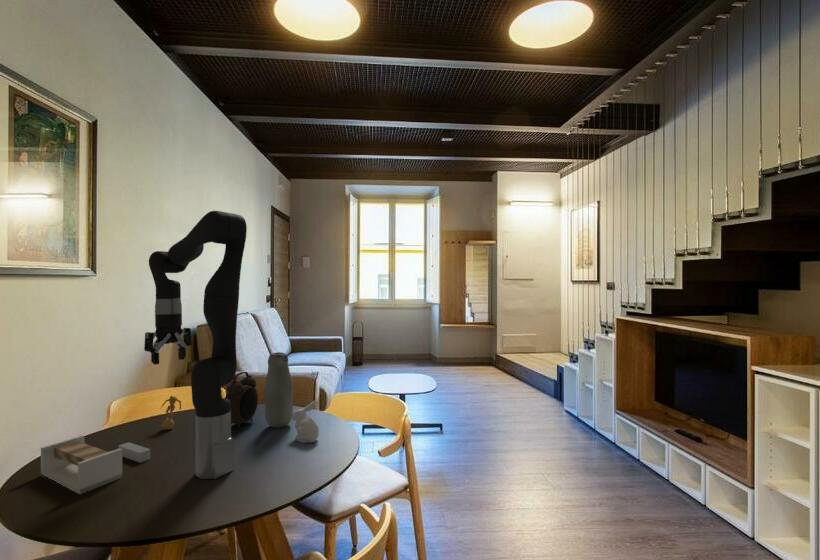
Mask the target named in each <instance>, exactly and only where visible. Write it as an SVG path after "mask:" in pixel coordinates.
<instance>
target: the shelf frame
mask: <svg viewBox="0 0 820 560" xmlns="http://www.w3.org/2000/svg"><path fill="white" fill-rule="evenodd" d="M75 441H79V442H82V443H85V435H83V434H82V435H79V436H77V437H76V436H75V437H72V438H69V439H65V440H62V441H59V442H55V443H52V444H48V445H45V446H42V447H40V475H41V474H42V475H44V476H46V477H48V478H49V479H52V480H54V481H56V482H57V483H59V484H61V485H60V486H62V485H63V486H62V487H64V486H65V487H64V488H66V487H67V488H66V489H68V488H69V489H68V490H70V491H73V492H74V493H76V494H78V495H82V494H85V493H87V491H88V492H90V491H92V490H95V489H98V488H100V487H102V486H105V485H107V484H110V483H112V482H114V481H115V482H116V481H118V480H120V479H122V478H123V457H122V449H121V448H119V449H118V448H116V449H114V450H111V451H107V452H108V453H105V454H102V455H99V456H96V457H93V458H90V459H87V460H84V461H81V462H78V466H77V465H74V464H72V463H69V462H67V461H64V460H62V459H60V458H57V457H55V456H54V448H55V447H58V446H61V445H65V444H68V443H71V442H75ZM49 479H48V480H49ZM57 483H56V484H57ZM59 484H58V485H59Z"/></svg>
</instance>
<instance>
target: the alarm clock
mask: <svg viewBox="0 0 820 560" xmlns="http://www.w3.org/2000/svg"><path fill="white" fill-rule="evenodd" d="M243 374H245V376H246V377H243V378H242V379H241V380H239V381H238V380H237V379H238V377H239V376H241V375H243ZM256 386H257V380H255V378H253V377H252V374H249V372H247V371H241V372H238V373H236V374H235V377H234V379H233V380H232V381H231V382H230V383H229V384H227V386H226V395H225V396H224V398H226V399H228V400H230V402H231V425H232V424H237V430H239V429H240V426H241V424H247V423H248V422H254V419H253V417H254V416H255V413H256V411H257V408H258V403H259V397H258V396H259V395H258V392H257V390H256Z"/></svg>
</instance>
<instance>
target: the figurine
mask: <svg viewBox="0 0 820 560" xmlns="http://www.w3.org/2000/svg"><path fill="white" fill-rule="evenodd" d="M167 402H169V405H168V406H167V408H166V410H165V413H166V414H167V415H166V418H165V419H164V420H163V421H162V423H161V428H162V429H163V430H165V431H169V430H171V429H172V428H174V426H175V421H174V420H173V419H172V418H173V415H174V410H175V408H176V406H175V404H176V402H178V404H179V408H178V409H179V410H180V411H181V410H182V401H181V400H180V399H178V397H177V396H174V395H170V397H169V398H168V399H166V400H165V401H164V402H163V403H162V405H161V406H160V409H162V407H164V405H165V404H166V403H167Z"/></svg>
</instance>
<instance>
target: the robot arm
mask: <svg viewBox="0 0 820 560" xmlns="http://www.w3.org/2000/svg"><path fill="white" fill-rule="evenodd" d="M247 227H248V226H247V221H246V219H245V217H244V216H243V215H240V214H237V213H231V212H225V211H222V210H211V211H208V212H207V213H206V214H204V215H203V217H201V218H200V219H199V221H197V223H196V224H195V225H193V228H191V230H190V231H189V232H188V234H187V235H186V236H185V237H183V238H182V239H180V240H179V241H178V242H176V243H174V244H172V245H171V246H170V248H169V249H168V251H165V250H164V251H163V250H160V251H159V250H158V251H153V252H152V253H151V254H150V255H149V259H148V266H149V269H150V272H151V275H152V278H153V282H154V285H155V303H154V324H155V325H154V327H155V331H153V332H149V331H147V332H145V333H144V348H143V349H144V351H145V352H149V353H150V360H151V363H152V364H153V365H159V364H160V350H161V349H162V348H163V347H164V346H165V345H169V344H176V346H178V349H177V350H178V353H177V354H178V360H185V358H186V356H187V354H186V351H187V350H186V349H187V347H189V346H191V345H192V343H193V342H192V330H191V328H190V327H183V328H182V325H183V313H182V312H183V310H182V309H183V306H182V305H183V304H182V299H181V298H182V297H181V296H182V295H181V294H182V290H181V283H180V281H177V280H174V279H170V278H168V276H167V274H179V273H182V272H184V271H185V270H186V269H187V268H188V266H189V264H190V263H191V262H192V261H195V260H197V259H198V258H199V257H200V256H201V255H202V254H203V251H204V247H205V244H208V243H214V244H221V245H225V248H224V249H225V250H224V255H223V257H222V258H223V259H222V261H221V262H220V265H219V266H218V267H217V268H218V269H216V271H215V272H214V274H212V276H211V277H210V279H209V280H208V282H207V284H206V285H205V288H204V292H203V294H204V295H203V316H204V319H205V320H206V323H207V325H208V328H209V330H210V333H211V338H212V348H211V349H212V350H211V356H210V357H207V358H202V359H200V360H198V361H197V362H196V363H195V364H194V365H193V367H192V369H191V374H190V375H191V376H190V384H191V385H190V386H191V400H192V406H193V407H194V409H195V410H194V411H195V476H196V477H197V478H199V479H203V480H209V479H213V480H216V479H218V478H221V477H222V476H225V475H226V474H228V473H230V472H232V471H234V438H233V437H232V424H231V402H230V400H228V399H226V398H225V397H223V396H222V394H223V393H222V387H224V386H226V385H227V386H228V385H229V384H230V383H231V382H232V381H233V379H234V377H235V375H237V362H238V361H237V342H236V341H237V326H238V313H239V311H238V310H239V301H240V300H239V299H240V280H241V271H242V263H243V257H244V252H245V245H246V242H247V241H246V240H247V233H248V232H247V231H248V229H247ZM181 335H182V337H183V338H182V337H181ZM155 338H156V339H155ZM154 339H155V341H154Z"/></svg>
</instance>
